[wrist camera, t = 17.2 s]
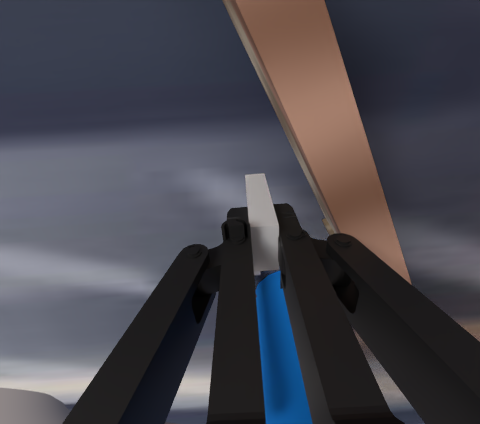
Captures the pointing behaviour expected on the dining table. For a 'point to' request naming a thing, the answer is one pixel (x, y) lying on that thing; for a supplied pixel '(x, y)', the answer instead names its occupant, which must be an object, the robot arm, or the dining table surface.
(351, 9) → the dining table surface
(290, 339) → the thermos
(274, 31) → the gate
